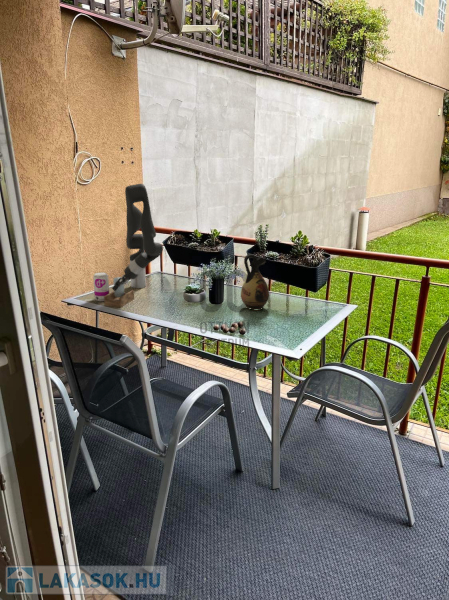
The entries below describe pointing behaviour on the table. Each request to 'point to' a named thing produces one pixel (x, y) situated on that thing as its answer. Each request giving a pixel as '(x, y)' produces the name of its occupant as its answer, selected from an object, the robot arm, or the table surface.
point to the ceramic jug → (254, 285)
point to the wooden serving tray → (118, 299)
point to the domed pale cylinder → (120, 290)
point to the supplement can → (101, 285)
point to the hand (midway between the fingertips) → (116, 288)
